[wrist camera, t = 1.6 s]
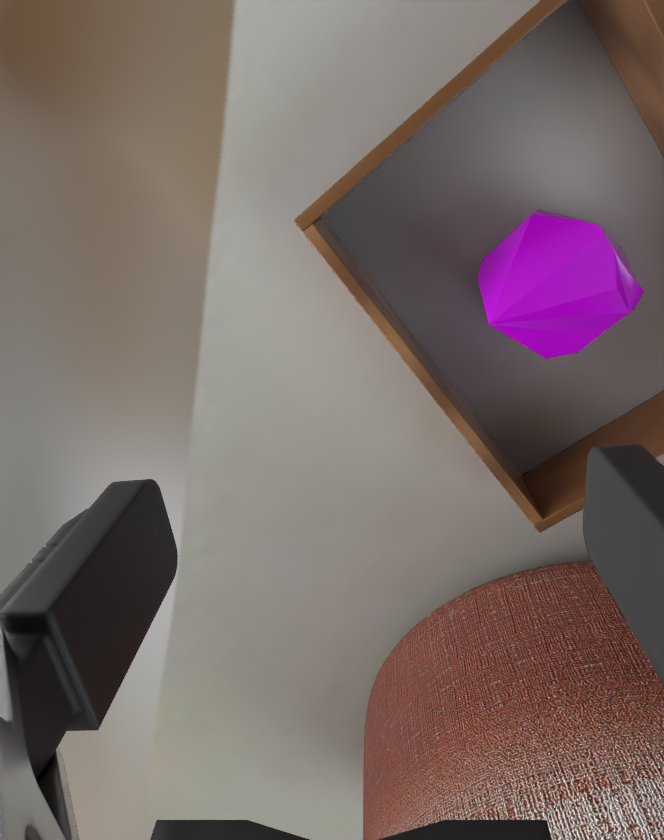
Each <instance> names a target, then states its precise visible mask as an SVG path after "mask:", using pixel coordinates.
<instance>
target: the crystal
mask: <svg viewBox="0 0 664 840" xmlns="http://www.w3.org/2000/svg"><path fill="white" fill-rule="evenodd" d="M477 279H478V283H479V287H480V291H481V295H482V299H483V303H484V307H485V311H486V315H487V319H488V323H489V325H491V326H492V327H494V328H496V329H497V330H499V331H501V332H502V333H504V334H506V335H508V336H509V337H511V338H513V339H514V340H516V341H518V342H519V343H521V344H523V345H524V346H526V347H528V348H529V349H531V350H533V351H534V352H536V353H538V354H539V355H541V356H543V357H544V358H546V359H548V358H553V357H558V356H563V355H568V354H573V353H578V352H579V351H581V350H582V349H584V348H585V347H586V346H588V345H589V344H590V343H591V342H593V341H594V340H595V339H596V338H598V337H599V336H600V335H602V334H603V333H604V332H605V331H607V330H608V329H609V328H611V327H612V326H613V325H614V324H616V323H617V322H618V321H619V320H621V319H622V318H623V317H625V316H626V315H627V314H628V313H630V312H631V311H632V310H634V308H635V306H636V305H637V303H638V301H639V299H640V298H641V296H642V294H643V292H644V290H643V288H642V286H641V284H640V282H639V280H638V278H637V276H636V274H635V272H634V271H633V269H632V267H631V265H630V263H629V261H628V259H627V257H626V255H625V253H624V251H623V249H622V247H621V246H620V245H619V244H618V243H617V242H616V241H615V240H614V239H613V238H612V237H611V236H610V235H609V234H608V233H607V232H606V231H605V230H604V229H603V228H602V227H601V226H600V225H597V224H593V223H589V222H585V221H581V220H577V219H573V218H569V217H565V216H561V215H557V214H553V213H549V212H545V211H541V210H537V211H536V212H534V213H532V214H531V215H530V216H529V217H528V218H527V219H526V220H525V221H523V222H522V223H521V224H520V225H519V226H518V227H517V228H516V229H515V230H514V231H513V232H512V233H511V234H510V235H509V236H507V237H506V238H505V239H504V240H503V241H502V242H501V243H500V244H499V245H498V246H497V247H496V248H495V249H494V250H493V251H491V252H490V253H489V254H488V255H487V256H486V257H485V258H484V259H483V260H482V263H481V266H480V269H479V272H478V275H477Z"/></svg>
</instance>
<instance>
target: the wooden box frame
mask: <svg viewBox="0 0 664 840" xmlns="http://www.w3.org/2000/svg"><path fill="white" fill-rule="evenodd" d="M567 1H568V0H540V1H539V2H538V3H537V4H536V5H535V6H534V7H533V8H531V9H530V10H529V11H528V12H527V13H526V14H525V15H524V16H522V17H521V18H520V19H519V20H518V21H517V22H516V23H515V24H514V25H512V26H511V27H510V28H509V29H508V30H507V31H506V32H505V33H503V34H502V35H501V36H500V37H499V38H498V39H497V40H496V41H494V42H493V43H492V44H491V45H490V46H489V47H488V48H487V49H485V50H484V51H483V52H482V53H481V54H480V55H479V56H478V57H477V58H475V59H474V60H473V61H472V62H471V63H470V64H469V65H468V66H466V67H465V68H464V69H463V70H462V71H461V72H460V73H459V74H457V75H456V76H455V77H454V78H453V79H452V80H451V81H450V82H448V83H447V84H446V85H445V86H444V87H443V88H442V89H441V90H440V91H438V92H437V93H436V94H435V95H434V96H433V97H432V98H431V99H429V100H428V101H427V102H426V103H425V104H424V105H423V106H422V107H420V108H419V109H418V110H417V111H416V112H415V113H414V114H413V115H411V116H410V117H409V118H408V119H407V120H406V121H405V122H404V123H403V124H401V125H400V126H399V127H398V128H397V129H396V130H395V131H394V132H392V133H391V134H390V135H389V136H388V137H387V138H386V139H385V140H383V141H382V142H381V143H380V144H379V145H378V146H377V147H376V148H374V149H373V150H372V151H371V152H370V153H369V154H368V155H367V156H366V157H364V158H363V159H362V160H361V161H360V162H359V163H358V164H357V165H355V166H354V167H353V168H352V169H351V170H350V171H349V172H348V173H346V174H345V175H344V176H343V177H342V178H341V179H340V180H339V181H337V182H336V183H335V184H334V185H333V186H332V187H331V188H330V189H329V190H327V191H326V192H325V193H324V194H323V195H322V196H321V197H320V198H318V199H317V200H316V201H315V202H314V203H313V204H312V205H311V206H309V207H308V208H307V209H306V210H305V211H304V212H303V213H302V214H300V215H299V216H298V217H297V218H296V219H295V220H294V222H295V224H296V225H297V226H298V227H299V229H300V230H301V231H303V234H304V235H305V236H306V238H307V239H308V240H309V241H310V243H311V244H312V245H313V246H314V248H315V249H316V250H317V251H318V253H319V254H320V255H321V257H322V258H323V259H324V260H325V262H326V263H327V264H328V265H329V267H330V268H331V269H332V270H333V272H334V273H335V274H336V276H337V277H338V278H339V279H340V281H341V282H342V283H343V284H344V286H345V287H346V288H347V289H348V291H349V292H350V293H351V295H352V296H353V297H354V298H355V300H356V301H357V302H358V303H359V305H360V306H361V307H362V308H363V310H364V311H365V312H366V314H367V315H368V316H369V317H370V319H371V320H372V321H373V322H374V324H375V325H376V326H377V327H378V329H379V330H380V331H381V333H382V334H383V335H384V336H385V338H386V339H387V340H388V341H389V343H390V344H391V345H392V346H393V348H394V349H395V350H396V352H397V353H398V354H399V355H400V357H401V358H402V359H403V360H404V362H405V363H406V364H407V365H408V367H409V368H410V369H411V371H412V372H413V373H414V374H415V376H416V377H417V378H418V379H419V381H420V382H421V383H422V384H423V386H424V387H425V388H426V390H427V391H428V392H429V393H430V395H431V396H432V397H433V398H434V400H435V401H436V402H437V404H438V405H439V406H440V407H441V409H442V410H443V411H444V412H445V414H446V415H447V416H448V417H449V419H450V420H451V421H452V423H453V424H454V425H455V426H456V428H457V429H458V430H459V431H460V433H461V434H462V435H463V436H464V438H465V439H466V440H467V442H468V443H469V444H470V445H471V447H472V448H473V449H474V450H475V452H476V453H477V454H478V455H479V457H480V458H481V459H482V461H483V462H484V463H485V464H486V466H487V467H488V468H489V469H490V471H491V472H492V473H493V474H494V476H495V477H496V478H497V480H498V481H499V482H500V483H501V485H502V486H503V487H504V488H505V490H506V491H507V492H508V493H509V495H510V496H511V497H512V499H513V500H514V501H515V502H516V504H517V505H518V506H519V507H520V509H521V510H522V511H523V512H524V514H525V515H526V516H527V518H528V519H529V520H530V521H531V523H532V524H533V525H534V526H535V528H536V529H537V530H538V531H539V532H542V531H544V530H545V529H547V528H549V527H551V526H553V525H554V524H556V523H558V522H560V521H562V520H563V519H565V518H567V517H569V516H571V515H572V514H574V513H576V512H578V511H580V510H581V509H583V508H584V500H585V486H586V472H587V459H588V454H589V451H590V450H591V448H593V447H600V446H613V445H627V444H640V445H642V446H643V447H644V448H645V449H646V450H647V451H648V452H649V453H650V454H651V455H652V456H653V457H654V458H655V459H656V460H657V461H658V462H659V463H660V464H661V465H662V464H664V391H663V392H661V393H659V394H658V395H656V396H654V397H653V398H651V399H649V400H648V401H646V402H644V403H643V404H641V405H639V406H638V407H636V408H634V409H633V410H631V411H629V412H628V413H626V414H624V415H623V416H621V417H619V418H618V419H616V420H614V421H613V422H611V423H609V424H608V425H606V426H604V427H603V428H601V429H599V430H598V431H596V432H594V433H593V434H591V435H589V436H588V437H586V438H584V439H583V440H581V441H579V442H578V443H576V444H574V445H573V446H571V447H569V448H568V449H566V450H564V451H563V452H561V453H559V454H558V455H556V456H554V457H553V458H551V459H549V460H548V461H546V462H544V463H543V464H541V465H539V466H538V467H536V468H534V469H533V470H531V471H529V472H528V473H526V474H524V475H523V476H521V474H520V473H519V472H518V470H517V469H516V468H515V467H514V465H513V464H512V463H511V461H510V460H509V459H508V457H507V456H506V455H505V454H504V452H503V451H502V450H501V448H500V447H499V446H498V445H497V443H496V442H495V441H494V439H493V438H492V437H491V435H490V434H489V433H488V432H487V430H486V429H485V428H484V426H483V425H482V424H481V422H480V421H479V420H478V419H477V417H476V416H475V415H474V413H473V412H472V411H471V409H470V408H469V407H468V406H467V404H466V403H465V402H464V400H463V399H462V398H461V396H460V395H459V394H458V393H457V391H456V390H455V389H454V387H453V386H452V385H451V383H450V382H449V381H448V380H447V378H446V377H445V376H444V374H443V373H442V372H441V370H440V369H439V368H438V367H437V365H436V364H435V363H434V361H433V360H432V359H431V358H430V356H429V355H428V354H427V352H426V351H425V350H424V348H423V347H422V346H421V345H420V343H419V342H418V341H417V339H416V338H415V337H414V335H413V334H412V333H411V332H410V330H409V329H408V328H407V326H406V325H405V324H404V322H403V321H402V320H401V319H400V317H399V316H398V315H397V313H396V312H395V311H394V309H393V308H392V307H391V306H390V304H389V303H388V302H387V300H386V299H385V298H384V296H383V295H382V294H381V293H380V291H379V290H378V289H377V287H376V286H375V285H374V283H373V282H372V281H371V280H370V278H369V277H368V276H367V274H366V273H365V272H364V271H363V269H362V268H361V267H360V265H359V264H358V263H357V261H356V260H355V259H354V258H353V256H352V255H351V254H350V252H349V251H348V250H347V248H346V247H345V246H344V245H343V243H342V242H341V241H340V239H339V238H338V237H337V235H336V234H335V233H334V232H333V230H332V229H331V228H330V226H329V225H328V224H327V222H326V221H325V220H324V219H323V217H322V216H323V215H324V214H325V213H326V212H327V211H329V210H330V209H331V208H332V207H333V206H334V205H335V204H337V203H338V202H339V201H340V200H341V199H342V198H343V197H345V196H346V195H347V194H348V193H349V192H350V191H351V190H353V189H354V188H355V187H356V186H357V185H358V184H359V183H361V182H362V181H363V180H364V179H365V178H366V177H367V176H369V175H370V174H371V173H372V172H373V171H374V170H375V169H377V168H378V167H379V166H380V165H381V164H382V163H383V162H384V161H386V160H387V159H388V158H389V157H390V156H391V155H392V154H394V153H395V152H396V151H397V150H398V149H399V148H400V147H402V146H403V145H404V144H405V143H406V142H407V141H408V140H410V139H411V138H412V137H413V136H414V135H415V134H416V133H418V132H419V131H420V130H421V129H422V128H423V127H424V126H426V125H427V124H428V123H429V122H430V121H431V120H432V119H434V118H435V117H436V116H437V115H438V114H439V113H440V112H442V111H443V110H444V109H445V108H446V107H447V106H448V105H450V104H451V103H452V102H453V101H454V100H455V99H456V98H458V97H459V96H460V95H461V94H462V93H463V92H464V91H465V90H467V89H468V88H469V87H470V86H471V85H472V84H473V83H475V82H476V81H477V80H478V79H479V78H480V77H481V76H483V75H484V74H485V73H486V72H487V71H488V70H489V69H491V68H492V67H493V66H494V65H495V64H496V63H497V62H499V61H500V60H501V59H502V58H503V57H504V56H505V55H507V54H508V53H509V52H510V51H511V50H512V49H513V48H515V47H516V46H517V45H518V44H519V43H520V42H521V41H523V40H524V39H525V38H526V37H527V36H528V35H529V34H531V33H532V32H533V31H534V30H535V29H536V28H537V27H539V26H540V25H541V24H542V23H543V22H544V21H545V20H546V19H548V18H549V17H550V16H551V15H552V14H553V13H554V12H556V11H557V10H558V9H559V8H560V7H561V6H562V5H564V4H565V3H566V2H567ZM578 1H579V2H580V4H581V6H582V8H583V10H584V12H585V13H586V15H587V17H588V19H589V21H590V23H591V24H592V26H593V28H594V30H595V32H596V34H597V35H598V37H599V39H600V41H601V43H602V45H603V46H604V48H605V50H606V52H607V54H608V56H609V57H610V59H611V61H612V63H613V65H614V67H615V68H616V70H617V72H618V74H619V76H620V78H621V79H622V81H623V83H624V85H625V87H626V89H627V90H628V92H629V94H630V96H631V98H632V100H633V101H634V103H635V105H636V107H637V109H638V111H639V112H640V114H641V116H642V118H643V120H644V122H645V123H646V125H647V127H648V129H649V131H650V133H651V134H652V136H653V138H654V140H655V142H656V144H657V145H658V147H659V149H660V151H661V153H662V155H663V156H664V0H578Z"/></svg>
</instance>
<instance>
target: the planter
mask: <svg viewBox="0 0 664 840" xmlns="http://www.w3.org/2000/svg"><path fill="white" fill-rule="evenodd" d="M443 820H547V823H548V827H549V831H550V834H551V838H552V840H664V686H663V684H662V682H661V680H660V679H659V677H658V675H657V673H656V672H655V670H654V668H653V666H652V665H651V663H650V661H649V659H648V658H647V656H646V654H645V652H644V651H643V649H642V647H641V645H640V644H639V642H638V640H637V638H636V637H635V635H634V633H633V631H632V630H631V628H630V626H629V624H628V623H627V621H626V619H625V617H624V616H623V614H622V612H621V610H620V609H619V607H618V605H617V603H616V602H615V600H614V598H613V596H612V595H611V593H610V591H609V589H608V588H607V586H606V584H605V582H604V581H603V579H602V577H601V575H600V574H599V572H598V570H597V568H596V567H595V565H594V563H593V561H584V562H571V563H562V564H555V565H550V566H544V567H539V568H534V569H530V570H526V571H522V572H518V573H515V574H511V575H508V576H505V577H502V578H499V579H496V580H493V581H490V582H488V583H485V584H483V585H480V586H478V587H476V588H474V589H472V590H470V591H468V592H466V593H464V594H462V595H460V596H458V597H456V598H454V599H453V600H451V601H449V602H447V603H446V604H444V605H442V606H441V607H439V608H438V609H436V610H435V611H433V612H432V613H431V614H429V615H428V616H427V617H425V618H424V619H423V620H422V621H420V622H419V623H418V624H417V625H416V626H415V627H414V628H413V629H412V630H410V631H409V632H408V633H407V634H406V635H405V637H404V638H403V639H402V640H401V641H400V642H399V643H398V644H397V645H396V647H395V648H394V649H393V650H392V652H391V653H390V655H389V656H388V657H387V659H386V661H385V662H384V664H383V666H382V667H381V669H380V671H379V673H378V675H377V678H376V680H375V683H374V685H373V688H372V691H371V695H370V698H369V703H368V709H367V716H366V724H365V737H364V791H363V840H378V839H381V838H385V837H388V836H392V835H395V834H399V833H402V832H405V831H409V830H412V829H416V828H419V827H422V826H426V825H429V824H433V823H436V822H439V821H443Z"/></svg>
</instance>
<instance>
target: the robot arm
mask: <svg viewBox="0 0 664 840" xmlns="http://www.w3.org/2000/svg"><path fill="white" fill-rule="evenodd" d="M583 532H584V539H585V544H586V548H587V551H588V553H589V556H590V558H591V560H592V561H593V563H594V565H595V567H596V568H597V570H598V572H599V574H600V575H601V577H602V579H603V581H604V582H605V584H606V586H607V588H608V589H609V591H610V593H611V595H612V596H613V598H614V600H615V602H616V603H617V605H618V607H619V609H620V610H621V612H622V614H623V616H624V617H625V619H626V621H627V623H628V624H629V626H630V628H631V630H632V631H633V633H634V635H635V637H636V638H637V640H638V642H639V644H640V645H641V647H642V649H643V651H644V652H645V654H646V656H647V658H648V659H649V661H650V663H651V665H652V666H653V668H654V670H655V672H656V673H657V675H658V677H659V679H660V680H661V682H662V684H663V686H664V467H663V466H662V465H661V464H660V463H659V462H658V461H657V460H656V459H655V458H654V457H653V456H652V455H651V454H650V453H649V452H648V451H647V450H646V449H645V448H644V447H643V446H642V445H640V444H627V445H613V446H600V447H593V448H591V450H590V451H589V454H588V459H587V472H586V486H585V500H584V515H583ZM176 569H177V547H176V544H175V540H174V536H173V533H172V529H171V526H170V522H169V518H168V515H167V511H166V508H165V504H164V501H163V498H162V494H161V491H160V488H159V486H158V484H157V483H156V482H155V481H154V480H152V479H147V480H134V481H120V482H113V483H111V484H110V485H109V486H108V487H107V488H106V489H105V491H104V492H103V493H102V494H101V495H100V496H99V498H98V499H97V500H96V501H95V502H94V503H93V504H92V506H91V507H90V508H89V509H86V510H85V511H83V512H82V513H80V514H79V515H77V516H76V517H74V518H73V519H71V520H70V521H68V522H67V523H65V524H64V525H63V526H62V527H61V528H60V529H59V530H58V531H57V532H56V534H55V535H54V536H53V537H52V538H51V539H50V540H49V541H48V542H47V543H46V547H43V548H42V549H41V550H40V551H39V552H38V553H37V555H36V556H35V557H34V558H33V559H32V563H29V564H27V566H26V567H25V568H24V569H23V570H22V571H21V573H19V575H18V576H17V577H16V578H15V579H14V580H13V581H12V582H11V584H10V585H9V586H8V587H7V588H6V589H5V590H4V591H3V592H2V593H1V595H0V840H79V835H78V830H77V825H76V820H75V815H74V810H73V805H72V800H71V795H70V790H69V785H68V781H67V775H66V770H65V765H64V760H63V757H62V754H61V753H60V750H59V748H58V745H59V743H60V741H61V739H62V737H63V736H64V734H65V732H66V731H78V730H79V731H80V730H98V729H99V727H100V725H101V723H102V721H103V719H104V717H105V715H106V713H107V711H108V709H109V707H110V705H111V703H112V701H113V699H114V697H115V695H116V693H117V691H118V689H119V687H120V685H121V683H122V681H123V679H124V677H125V675H126V673H127V671H128V669H129V667H130V665H131V662H132V661H133V659H134V657H135V655H136V653H137V651H138V649H139V647H140V645H141V643H142V641H143V639H144V637H145V635H146V633H147V631H148V629H149V627H150V625H151V623H152V621H153V619H154V617H155V615H156V613H157V611H158V609H159V607H160V605H161V603H162V601H163V599H164V597H165V595H166V593H167V591H168V589H169V587H170V585H171V583H172V581H173V579H174V577H175V574H176ZM150 840H309V839H306V838H303V837H299V836H296V835H293V834H290V833H287V832H283V831H280V830H277V829H274V828H271V827H267V826H264V825H261V824H258V823H255V822H251V821H248V820H157V821H156V824H155V827H154V830H153V833H152V836H151V839H150ZM378 840H552V838H551V834H550V831H549V827H548V823H547V820H443V821H439V822H436V823H433V824H429V825H426V826H422V827H419V828H416V829H412V830H409V831H405V832H402V833H399V834H395V835H392V836H388V837H385V838H381V839H378Z"/></svg>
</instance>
